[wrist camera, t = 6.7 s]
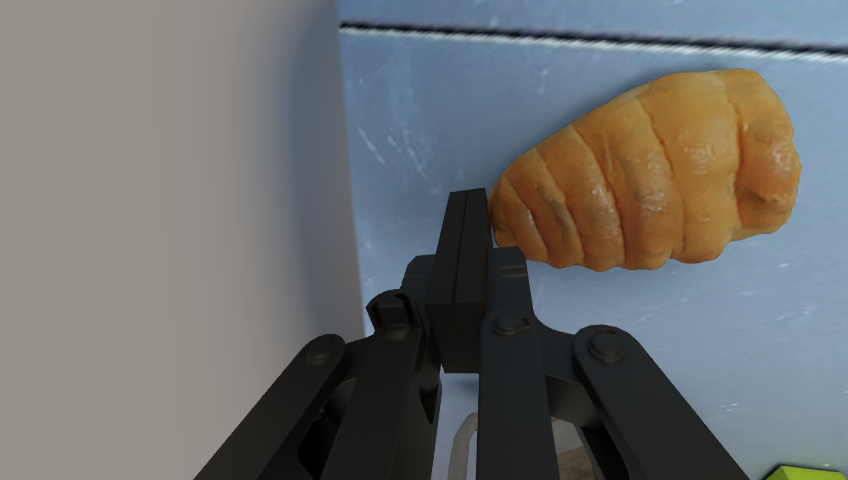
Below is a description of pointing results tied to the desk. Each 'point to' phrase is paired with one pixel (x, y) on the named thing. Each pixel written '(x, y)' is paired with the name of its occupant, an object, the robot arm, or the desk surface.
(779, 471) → the box
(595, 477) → the mug
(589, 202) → the pastry
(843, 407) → the desk surface
